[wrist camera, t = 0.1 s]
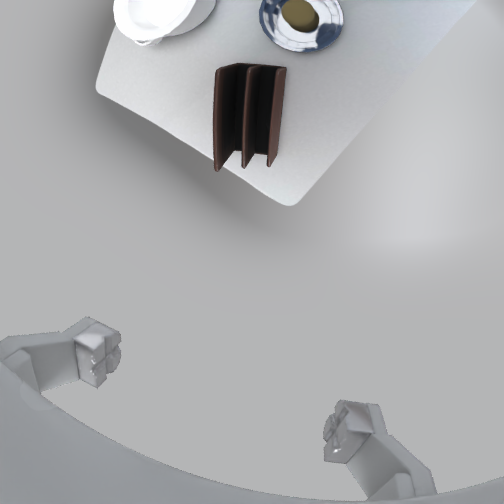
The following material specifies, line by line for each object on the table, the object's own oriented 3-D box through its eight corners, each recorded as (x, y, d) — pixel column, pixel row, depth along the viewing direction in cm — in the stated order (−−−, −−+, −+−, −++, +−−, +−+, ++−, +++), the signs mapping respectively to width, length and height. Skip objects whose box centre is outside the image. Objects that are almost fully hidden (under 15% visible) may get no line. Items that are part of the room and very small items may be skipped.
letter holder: (233, 148, 61) (209, 175, 50) (237, 62, 47) (210, 68, 37) (277, 155, 59) (263, 184, 49) (286, 66, 46) (273, 72, 36)
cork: (295, 36, 41) (288, 33, 33) (281, 11, 38) (270, 3, 30) (325, 26, 38) (324, 20, 30) (310, 1, 35) (305, -11, 27)
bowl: (254, -1, 37) (247, -5, 33) (326, -20, 31) (326, -26, 28) (280, 59, 45) (275, 60, 42) (352, 44, 39) (354, 43, 36)
